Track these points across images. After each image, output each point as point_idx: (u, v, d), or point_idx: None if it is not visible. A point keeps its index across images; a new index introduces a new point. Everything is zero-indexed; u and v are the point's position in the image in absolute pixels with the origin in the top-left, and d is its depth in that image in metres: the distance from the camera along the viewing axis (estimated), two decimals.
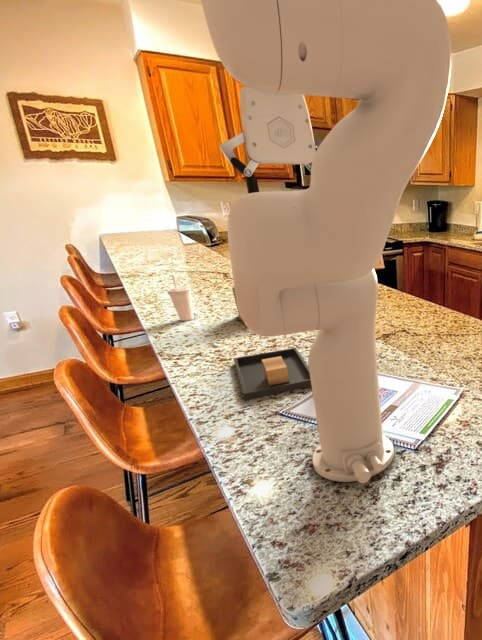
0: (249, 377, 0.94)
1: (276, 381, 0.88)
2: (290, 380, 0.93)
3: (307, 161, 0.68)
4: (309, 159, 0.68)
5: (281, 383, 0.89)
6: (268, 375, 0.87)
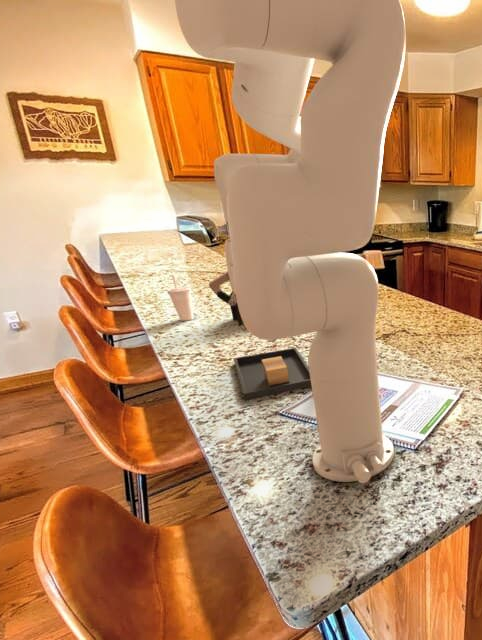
0: (249, 377, 0.94)
1: (276, 381, 0.88)
2: (290, 380, 0.93)
3: None
4: None
5: (281, 383, 0.89)
6: (268, 375, 0.87)
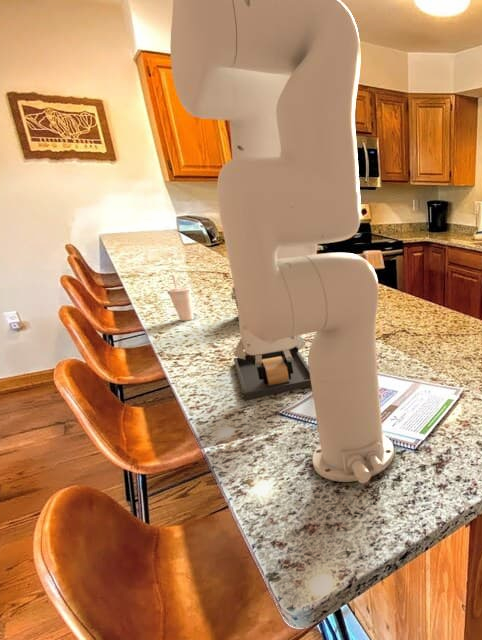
0: (249, 377, 0.94)
1: (276, 381, 0.88)
2: (290, 380, 0.93)
3: (290, 348, 0.88)
4: (291, 346, 0.88)
5: (281, 383, 0.89)
6: (268, 375, 0.87)
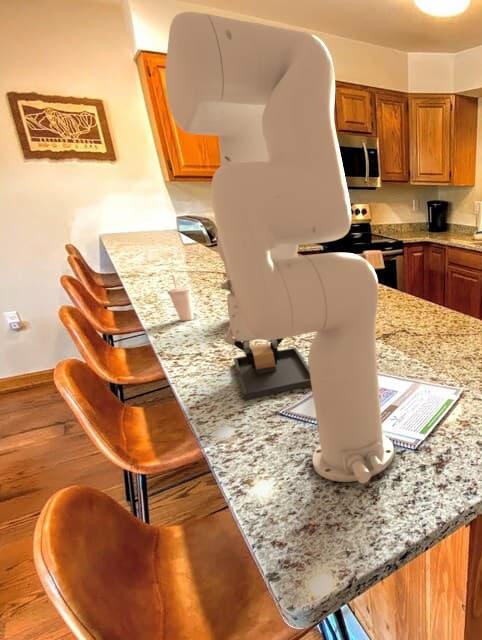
0: (249, 377, 0.94)
1: (263, 365, 0.95)
2: (290, 380, 0.93)
3: None
4: None
5: (268, 367, 0.96)
6: (255, 360, 0.94)
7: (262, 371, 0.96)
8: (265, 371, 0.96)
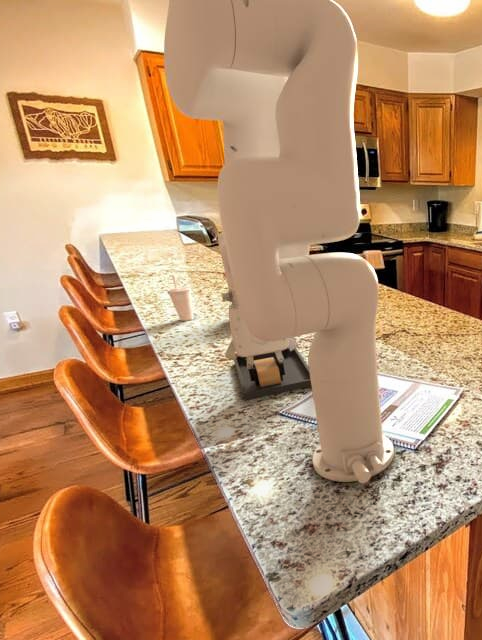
0: (249, 377, 0.94)
1: (268, 382, 0.87)
2: (290, 380, 0.93)
3: (282, 349, 0.87)
4: (283, 348, 0.87)
5: (273, 384, 0.88)
6: (259, 376, 0.86)
7: None
8: None
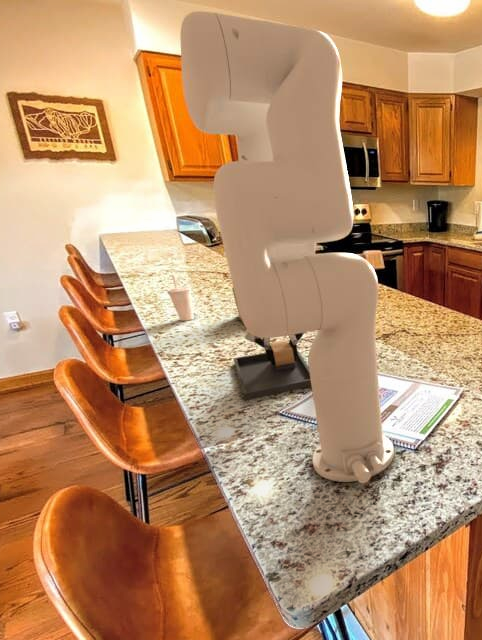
0: (249, 377, 0.94)
1: (283, 362, 0.97)
2: (290, 380, 0.93)
3: None
4: None
5: (287, 364, 0.98)
6: (275, 356, 0.96)
7: (282, 367, 0.97)
8: (285, 367, 0.98)
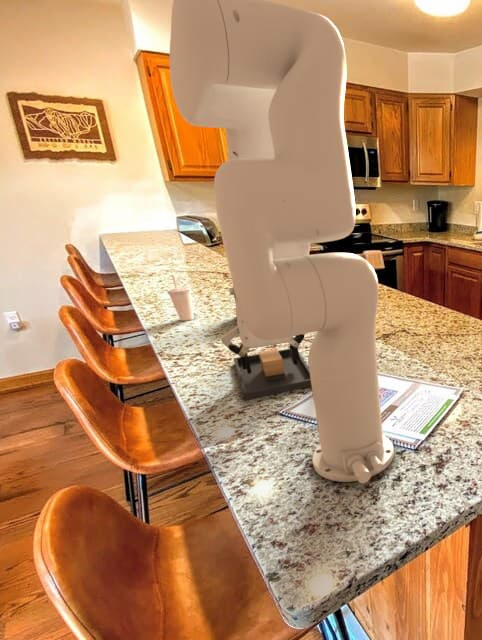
0: (249, 377, 0.94)
1: (272, 372, 0.92)
2: (290, 380, 0.93)
3: (286, 341, 0.92)
4: (287, 340, 0.92)
5: (277, 374, 0.93)
6: (264, 366, 0.91)
7: (271, 378, 0.92)
8: (274, 378, 0.93)
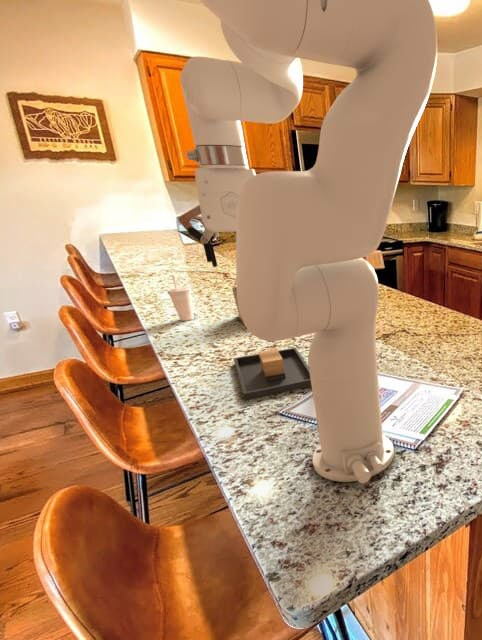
0: (249, 377, 0.94)
1: (272, 372, 0.92)
2: (290, 380, 0.93)
3: None
4: None
5: (277, 374, 0.93)
6: (264, 366, 0.91)
7: (271, 378, 0.92)
8: (274, 378, 0.93)
